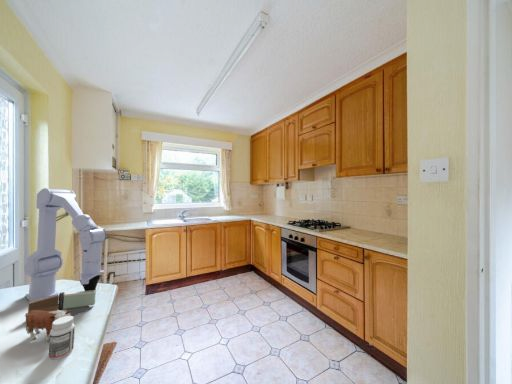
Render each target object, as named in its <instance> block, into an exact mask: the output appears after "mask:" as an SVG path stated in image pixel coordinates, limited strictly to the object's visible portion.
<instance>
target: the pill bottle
mask: <svg viewBox="0 0 512 384" xmlns="http://www.w3.org/2000/svg"><path fill="white" fill-rule="evenodd" d="M75 326H76V325H75V323H74V316H65V317H61V318H59V319H57V320H55V321H54V322H53V323H52V329H51V331H50V335H49V336H50V339H49V341H48V359H50V360H57V359H60V358H64V357H65V356H67V355H69V354H70V353H71V352H72V351H73V350H74V346H75V328H76V327H75Z"/></svg>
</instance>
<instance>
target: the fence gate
mask: <svg viewBox="0 0 512 384" xmlns="http://www.w3.org/2000/svg"><path fill="white" fill-rule="evenodd" d="M96 292H97V291H96V290H90V291H85V290H81V291H74V292H73V291H72V292H65V293H64V303H63V309H66V308H74V307H82V306H89V307H91V306H94V305H95V304H96V294H97V293H96Z"/></svg>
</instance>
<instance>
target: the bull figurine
mask: <svg viewBox="0 0 512 384" xmlns="http://www.w3.org/2000/svg"><path fill="white" fill-rule="evenodd" d="M70 311H71V310H68V311H66V312H64V311H61V310H57V311H39V310H37V311H36V310H32V311H30V312H29V314H28V315H25V324H26V325H25V331H26V333H27V334H28V335H30V336H29V339H30V341H35V340H36V339H37V337H36V335H39V334H40V333H41V330H42V331H43V330H44V329H45V330H46V331H45V332H46V333H45V334H46V337H45V338H44V340H45V342H49V339H50V331H51V330H52V323H53V322H54V321H55V320H57V319H59V318H61V317H65V314H68V313H69V312H70ZM34 329H35V330H34ZM34 332H35V334H36V335H35V334H34Z"/></svg>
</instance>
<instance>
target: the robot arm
mask: <svg viewBox="0 0 512 384" xmlns="http://www.w3.org/2000/svg"><path fill="white" fill-rule="evenodd" d="M76 198H77V195H76V194H75V192H74V190H72V189H60V188H58V189H56V188H48V187H47V188H45V187H43V188H42V189H40V190H39V191H38V192H37V194H36V204H35V205H36V209H38V225H37V244H36V245H37V246H36V251H34V252H32V253H31V254H30V255H28V256H27V257H26V263H25V265H24V269H23V270H24V273H25V274H26V275H27V276H28V277H30V279H29V286H28V287H29V291H28V293H26V294H25V295H24V296H25V297H26V299H27V300H28V301H29V302H33V301H37V300H40V299H44V298H48V297H51V296H55V295H59V293H60V292H58V291H57V290H56V281H57V272H59V270H60V269H61V268H62V266H63V264H64V263H63V262H64V259H63V256H62V251H60V250H58V249H56V234H57V233H56V232H57V212H58V211H59V210H61V209H63V210H64V211H65V212H66V213H67V214H68V215H69V216H70V218H72V221H71V224H72V226H73V227H74V228H75V229H76V231H77V233H78V234H79V235H80V236H79V238H78V239H79V242H80V245H81V247H80V248H81V250H82V260H81V264H82V265H81V273H80V278H81V279H80V280H79V282H80V285H81V286H82V287H83V291H90V290H96V289H97V286H98V283H99V281H100V279H101V277H102V275H101V274H104V273H105V270H104V269H103V270H102V256H103V255H102V254H103V242H105V241H106V240H107V235H108V234H107V231H106V228H104V227H101V226H99V225H97V224H96V222H94V220H93V219H92V218H91V216H90V215H89V214H84V213H83V211H82V209H81V208H80V206H79V204H78V203H77V202H76Z"/></svg>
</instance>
